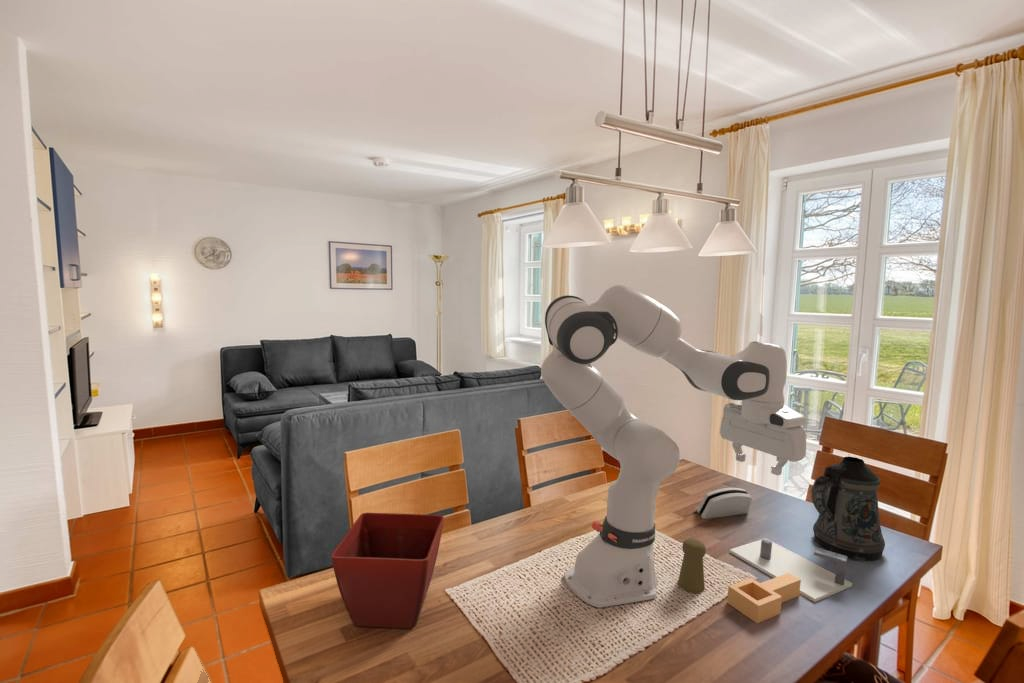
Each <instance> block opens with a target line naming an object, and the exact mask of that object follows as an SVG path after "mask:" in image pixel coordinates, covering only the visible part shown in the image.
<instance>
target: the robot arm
mask: <svg viewBox="0 0 1024 683" xmlns="http://www.w3.org/2000/svg"><path fill="white" fill-rule="evenodd" d="M544 324H545V331H546V334H547V337H548V339H547V340H548V343H549V344H550V346H552V351H551V352H550V353H549V354H548V355H547V357H545V359H544V360H543V362H542V364H541V368H540V374H541V376H540V377H541V379H542V381H543V382H544V383H545V385H546V387H547V388H548V390H549V391H550V393H552V394H553V396H554V398H556V400H558V402H559V403H560V404H561V405H562V406H563V407H564V408H565V409H566V410H567V411H568V412H569V413H570V414H571V415H572V416H573V417H574V418H575V419H576V420H577V421H578V422H579V423H580V424H581V425H582V426H583V427H584V428H585V429H586V430H587V431H588V433H590V435H591V436H592V437H593V439H594V440H595V441H596V443H598V445H599V446H600V447H601V449H603V450H604V452H606V453H607V454H608V455H609V456H611V457H612V458H614V459H615V460H617V461H618V462H619V465H620V471H619V474H618V478H617V479H616V480H614V481H613V482H611V484H610V485H608V489H607V500H606V515H605V517H604V519H603V522H602V523H600V522H599V521H598V520H594V521H592V523H591V529H593V530H594V531H596V532H597V533H598V532H599V534H598V535H597V536H595V538H593V539H592V540H591V541H590V542H589V543H588V544H587V545H585V547H584V548H583V549H582V550H581V551H579V552H578V553H577V555H576V558H575V563H574V566H573V567H572V568H569V569H567V570H565V571H564V576H563V577H564V582H565V583H566V585H567V587H568V588H569V590H570V591H571V592H572V593H573V594H575V595H576V597H578V598H579V599H580V600H582V601H583V602H584V603H586V604H588V605H590V606H592V607H594V608H598V609H599V608H600V609H601V608H605V607H612V606H613V607H614V606H617V605H623V604H624V605H625V604H631V603H636V602H642V601H649V600H654V599H655V598H656V597H657V591H656V587H657V585H658V578H657V574H656V569H655V559H654V558H655V557H654V542H655V541H656V523H655V513H656V503H657V502H656V501H657V495H658V492H659V491H658V490H659V488H660V486H661V484H662V483H663V482H662V481H664V480H665V479H667V478H669V477H670V476H671V475H672V474H674V472H675V471H676V469H677V468H678V467H679V463H680V458H681V451H680V448H679V446H678V444H677V443H676V442H675V441H674V440H673V438H671V437H670V436H669V435H668V434H667V433H666V432H664V431H663V429H660V428H658V427H656V426H654V425H651V424H649V423H647V422H646V421H644V420H642V419H641V418H639V417H637V416H636V415H634V414H633V412H631V411H630V410H629V408H628V407H627V406H626V404H625V402H624V397H623V396H622V394H621V393H620V392H619V391H618V390H617V389H616V388H615V387H614V386H613V385H612V384H611V383H610V381H608V379H606V377H605V376H604V375H603V374H602V373H601V372H600V371H599V370H598V369H597V368H596V367H595V366H594V365H593V363H594V362H596V361H598V360H599V359H601V358H602V357H603V356H604V355H605V353H607V351H608V350H609V348H610V347H611V346H612V345H614V344H615V343H616V342H617V340H618V339H619V340H620V341H622V342H624V343H626V344H627V345H629V346H630V347H632V348H633V349H636V350H638V351H640V352H642V353H644V354H646V355H649V356H652V357H657V358H662V359H663V360H665V361H666V362H668V363H669V364H671V365H673V366H674V367H675V368H677V369H678V370H679V371H681V373H683V374H682V375H684V377H685V378H686V380H687V381H688V383H689V384H690V385H691V387H693V388H695V389H696V390H699V391H704V392H706V393H707V392H708V393H711V394H714V395H716V396H720V397H722V398H725V399H728V400H732V401H741V404H736V403H734V402H729V403H726V404H725V405H724V406H723V411H722V413H723V414H722V417H721V422H720V427H719V434H720V438H721V439H724V440H726V441H730V442H732V444H731V445H732V449H733V451H734V453H735V461H737V462H740V463H743V462H746V457H747V456H746V453H744V452H743V448H742V446H744V447H747V448H751V449H754V450H757V451H760V452H762V453H765V454H769V455H771V456H774V457H775V458H776V460H775V461H777V463H776V464H775V465H772V466H771V467H770V469H771V470H770V473H771V474H772V475H775V476H781V475H782V472H783V468H784V466H785V465H786V464H787V463H788V462H793V463H794V462H799V461H802V460H803V459H804V458H805V457H806V454H807V453H806V452H807V434H806V430H805V429H804V427H802V426H804V425H805V424H806V417H805V416H804V415H802V413H799V412H797V411H796V410H794V409H792V408H791V407H789V406H788V405H786V404H785V396H784V388H785V385H786V383H787V371H788V370H787V367H788V362H787V354H786V351H785V349H784V347H782V346H780V345H778V344H774V343H768V342H767V343H766V342H764V341H763V342H762V341H750V342H749V343H748V345H747V346H746V347H745V348H744V349H743V350H740V351H739V352H737V353H735V354H732V355H728V354H722V353H718V352H716V351H713V350H709V349H697V348H696V347H694V346H693V345H692V344H690V343H689V342H687V341H686V340H684V339H683V338H681V336H682V335H681V334H682V323H681V319H680V318H679V317H678V316H677V315H676V314H675V313H674V312H673V311H671V310H670V309H669V308H668V307H667V306H665V305H664V304H662V303H661V302H659V301H657V300H656V299H654V298H653V297H650V296H648V295H647V294H645V293H643V292H640V291H638V290H637V289H633V288H631V287H628V286H626V285H620V284H616V285H614V286H611V287H609V288H607V289H606V290H605V291H604V292H603V293H602V294H601V295H600V297H599V299H598V300H597V301H595V302H593V303H591V304H588V303H587V302H586V301H585V300H583V299H582V298H580V297H577V296H575V295H569V294H567V295H562V296H559V297H557V298H555V299H553V300H552V301H551V302H550V304H548V306H547V308H546V311H545V315H544Z"/></svg>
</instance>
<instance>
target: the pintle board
mask: <svg viewBox="0 0 1024 683" xmlns="http://www.w3.org/2000/svg"><path fill="white" fill-rule="evenodd" d="M729 553H730V554H732V555H734V556H735V557H737V558H738V559H741V560H742V561H744V562H745V563H746V564H747V563H748V564H749V565H750V566H752V567H754V568H756V569H757V570H759V571H761V572H762V573H764V574H766V575H768V576H769V577H771V578H772V579H773V578H776V577H778V576H781V575H784V574H787V573H790V574H792V575H793V576H795V577H797V578H799V579H801V583H800V593H799V595H802V597H805V598H807V599H808V600H811V601H812V602H813V603H817V602H818V601H821V600H823V599H825V598H828V597H831V596H832V595H835V594H838V593H839V592H842V591H844V590H846V589H849V588H851V587H853V582H851V581H850V580H847V579H845V581H844V586H843V585H840V584H837V583H835V574H836V573H835V572H834V573H833V572H831V571H829V570H828V569H826V568H823V567H822V566H820V565H818V564H816V563H814V562H813V561H811V560H809V559H807V558H805V557H803V556H801V555H799V554H796V553H795V552H793V551H791V550H789V549H787V548H785V547H783V546H781V545H780V544H778V543H776V542H774V541H771V540H769V539H768V538H762V539H759V540H756V541H752V542H750V543H746V544H743V545H739V546H736V547H733V548H730V549H729Z"/></svg>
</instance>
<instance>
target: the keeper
mask: <svg viewBox="0 0 1024 683" xmlns="http://www.w3.org/2000/svg"><path fill="white" fill-rule="evenodd" d="M813 556H816V557H819V558H823V559H826V560H829V561H833V562H835V563H836V566H835V573H834V574H835V583H837V584H840V585H843V586H844V581H845V580H846V570H847V562H848V558H847V556H845V555H841V554H838V553H835V552H831V551H828V550H826V549H824V548H822V547H817V546H815V547H814V550H813Z"/></svg>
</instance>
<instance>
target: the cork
mask: <svg viewBox="0 0 1024 683" xmlns="http://www.w3.org/2000/svg"><path fill="white" fill-rule="evenodd" d="M706 548H707V547H706V545H705V544H704V542H703V541H701V540H700V539H697V538H685V539H684V541H683V542H682V549H681V550H682V552H683V553H684V554H683V557H682V558H683V559H682V562H681V566H680V567H681V568H680V571H679V576H678V580H677V585H678V586H679V588H681V589H682V590H684V591H685V590H686V592H688V593H691V592H692V593H691V594H700V593H703V592H704V591H705V588H706V587H705V586H706V585H705V572H704V557H705V555H706V552H707V551H706V550H707V549H706Z"/></svg>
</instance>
